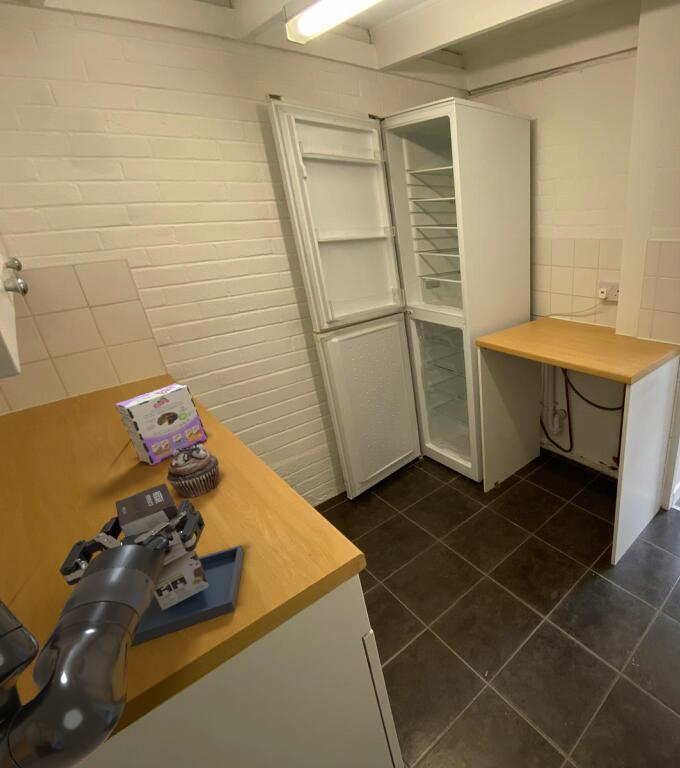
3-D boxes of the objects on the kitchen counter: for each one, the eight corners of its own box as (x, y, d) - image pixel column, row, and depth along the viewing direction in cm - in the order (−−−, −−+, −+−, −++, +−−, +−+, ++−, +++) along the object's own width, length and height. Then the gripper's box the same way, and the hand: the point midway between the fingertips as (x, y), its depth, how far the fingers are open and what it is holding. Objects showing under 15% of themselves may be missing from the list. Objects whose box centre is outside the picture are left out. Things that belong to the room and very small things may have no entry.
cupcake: (169, 489, 95) (152, 451, 91) (217, 469, 102) (204, 434, 98) (180, 506, 89) (163, 467, 85) (230, 484, 96) (217, 447, 92)
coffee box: (211, 586, 67) (175, 504, 61) (161, 612, 63) (117, 527, 57) (199, 558, 73) (166, 481, 67) (154, 580, 69) (113, 500, 63)
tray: (113, 652, 60) (107, 643, 59) (142, 584, 71) (137, 575, 70) (235, 610, 66) (231, 601, 65) (244, 553, 77) (241, 544, 76)
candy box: (196, 435, 118) (175, 382, 111) (208, 439, 115) (189, 385, 109) (139, 461, 106) (113, 403, 100) (152, 466, 104) (126, 407, 97)
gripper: (174, 550, 51) (201, 479, 65) (17, 595, 46) (82, 507, 59) (195, 594, 54) (216, 517, 68) (49, 641, 49) (104, 547, 62)
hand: (153, 512), depth 63 cm, fingers closed on coffee box, 8 cm apart
